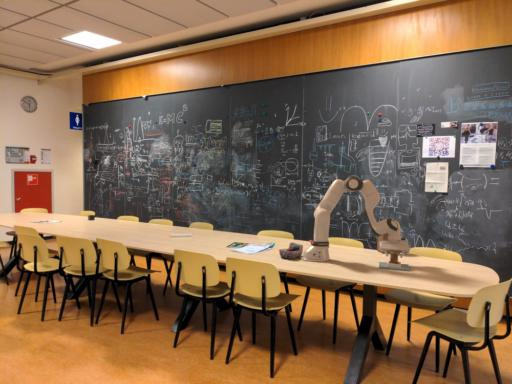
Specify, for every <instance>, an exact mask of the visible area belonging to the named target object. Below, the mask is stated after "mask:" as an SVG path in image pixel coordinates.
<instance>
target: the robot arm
mask: <svg viewBox="0 0 512 384" xmlns="http://www.w3.org/2000/svg"><path fill="white" fill-rule="evenodd" d="M328 187H329V188H328V189H327V191H326V192H325V194H324V196H323V198H322V199H321V201H320V203H318V205H317V207H316V208H315V210H314V212H313V217H314V227H313V240H311V239H309V243H310V245H309V246H308V247H307V248H305V249H303V252H302V255H301V256H299V258H300V260H301V261H303V262H305V261H306V262H322V263H323V262H327V261H330V260H331V258H330V251H329V248H330V241H329V238H330V236H329V233H330V232H329V231H330V224H331V223H330V222H331V213H332V211H333V210H334V209H335V207H336V206H337V204H338V203H339V201H340V199H341V198H342V195H343V194H344V193H345V192H346V191H347V192H357V191H358V192H359V193H360V194H361V195H362V197H363V199H364V205H363V208H364V213H365V216H366V218H367V221H368V224H369V228H370V233H371V234H372V235H373V236H375V237H377V238H378V237H379V236H381V235H383V234H385V233H388V234H389V235H388V240H380V241H379V244H380V251H384V252H385V253H384V254H385V257H389V253H387V252H398V254H399V258H401V259H402V258H403V256H404V255H405V254H409V253H410V244H409V242H408V239H407V238H406V237H403V236H401V232H402V230H401V229H402V228H401V225H400V222H398V221H397V220H394V219H392V218H389V217H388V218H384V219H382V220H380V221H377V220H376V218H375V215H374V209H375V208H376V206H377V205H378V204H379V203H380V200H381V195H380V193H379V191H378V189H377V188H376V186H375V185H374V183H373V182H372V181H371V180H370V179H365V180H361V179H360V178H359V177H356V176H350V177H348V178H347V179H345V180H342V179H340V178H339V179H338V178H337V179H335V180H333V182H331V184H330V186H328Z"/></svg>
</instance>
